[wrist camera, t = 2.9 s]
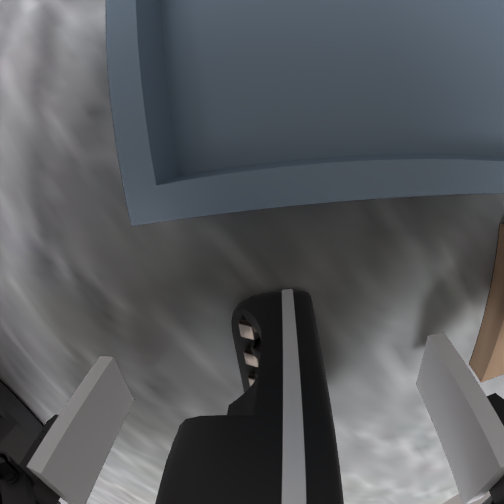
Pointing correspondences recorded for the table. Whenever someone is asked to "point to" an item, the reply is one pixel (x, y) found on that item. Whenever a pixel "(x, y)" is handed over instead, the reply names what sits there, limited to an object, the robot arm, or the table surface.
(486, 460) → the robot arm
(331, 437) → the battery charger
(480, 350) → the wooden base with post
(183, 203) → the parts tray
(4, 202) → the table surface
